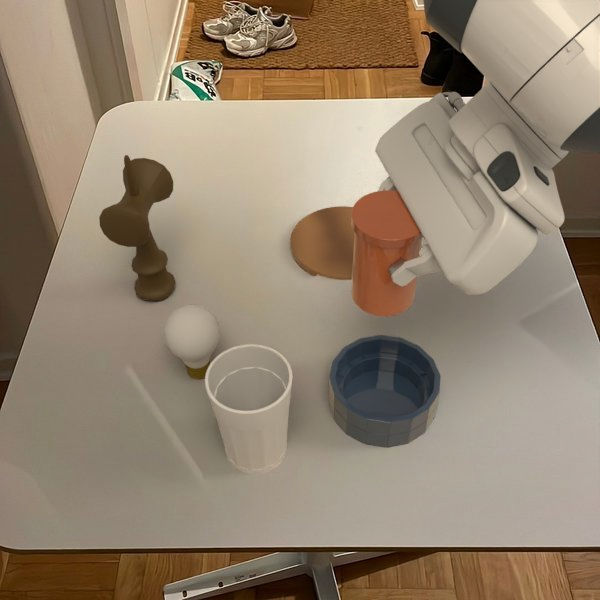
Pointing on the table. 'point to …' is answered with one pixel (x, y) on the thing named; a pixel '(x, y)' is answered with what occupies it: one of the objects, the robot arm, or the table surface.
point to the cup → (251, 405)
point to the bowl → (383, 390)
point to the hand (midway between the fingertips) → (380, 251)
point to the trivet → (325, 243)
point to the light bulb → (193, 337)
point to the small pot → (382, 252)
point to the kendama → (141, 225)
